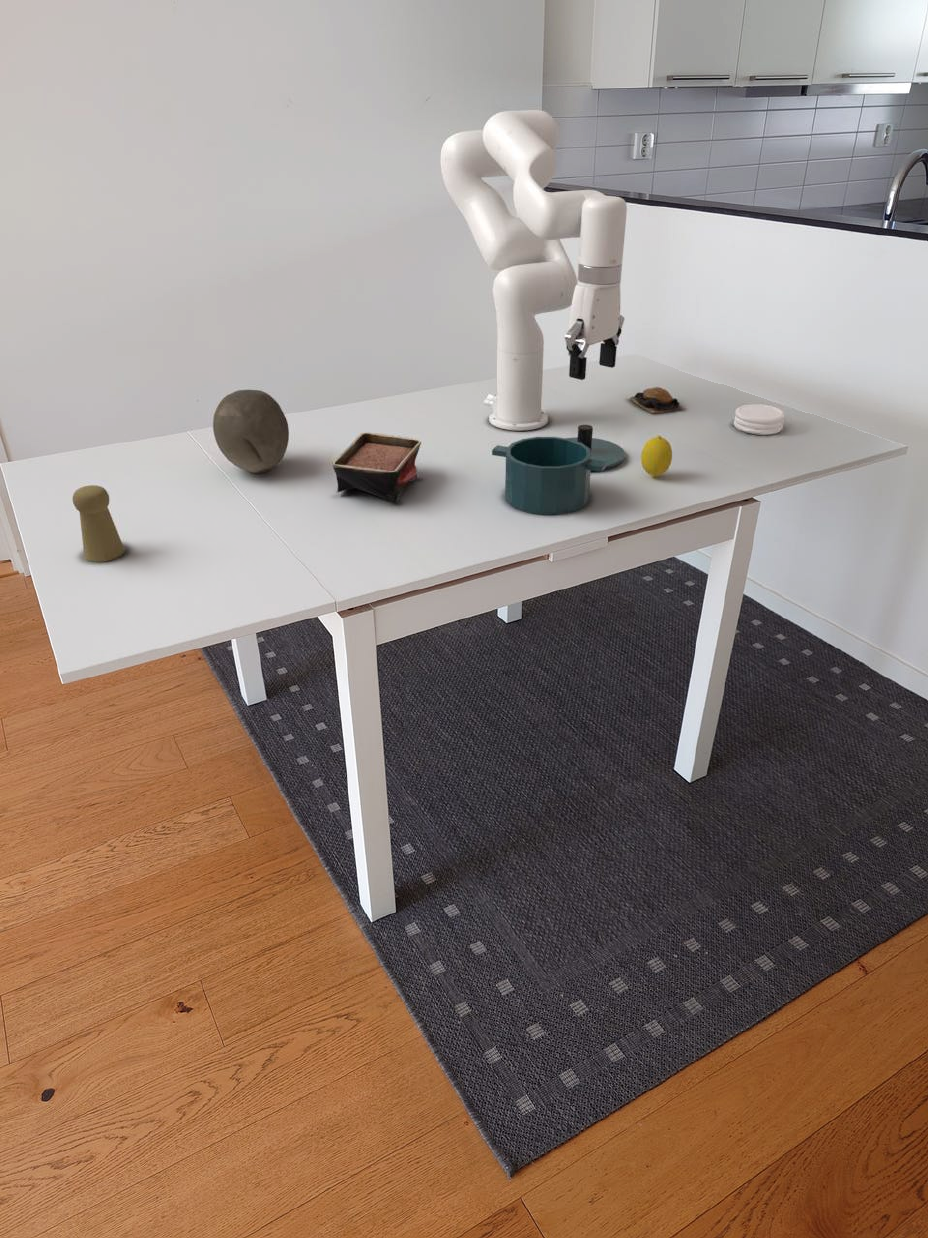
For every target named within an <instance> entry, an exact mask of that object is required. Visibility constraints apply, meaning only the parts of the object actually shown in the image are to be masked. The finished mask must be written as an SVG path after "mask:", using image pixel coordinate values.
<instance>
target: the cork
mask: <svg viewBox="0 0 928 1238" xmlns="http://www.w3.org/2000/svg"><path fill="white" fill-rule="evenodd" d="M72 503H73V507H75V509H76V510H77V511H78V512H79V519H80V529H81V538H82V539H81V540H82V547H83V548H82V549H83V556H84V559H85V560H87V561H88V562H93V563H104V562H108V561H112V560H115V559H117V558H119V557H121V556H123V554H124V553H125V549H126V548H125V547H124V544H123V542H122V540H121V537H120V535H119V531H118V529H117V527H116V525H115V522H114V519H113V517H112V515H111V512H110V510H109V505H110V494H109V493H108V491H107V489H106V488H104V486H100V485H97V484H96V485H93V484H92V485H85V486H82V487H79V488H78V489H76V490H75V491H74V492H73V494H72Z"/></svg>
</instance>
